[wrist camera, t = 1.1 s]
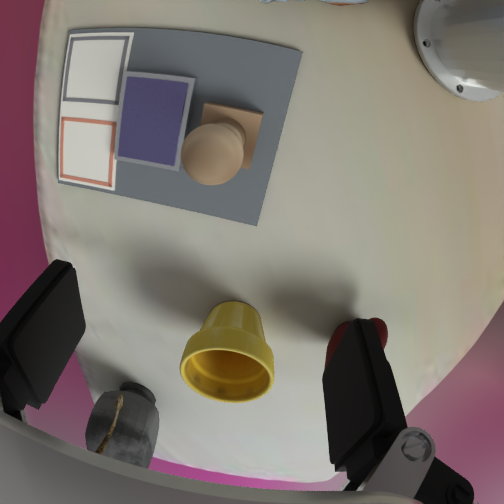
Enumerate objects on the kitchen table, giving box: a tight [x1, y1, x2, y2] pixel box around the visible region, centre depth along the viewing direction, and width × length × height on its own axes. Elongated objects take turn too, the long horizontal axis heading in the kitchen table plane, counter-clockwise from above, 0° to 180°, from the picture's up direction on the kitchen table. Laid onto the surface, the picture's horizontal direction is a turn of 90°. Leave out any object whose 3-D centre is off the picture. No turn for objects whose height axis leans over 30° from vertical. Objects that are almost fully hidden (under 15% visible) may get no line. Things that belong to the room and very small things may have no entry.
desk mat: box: [58, 28, 302, 226], centre depth 28 cm, size 18×24×1 cm
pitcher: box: [85, 382, 159, 469], centre depth 40 cm, size 11×19×30 cm, turn 169°
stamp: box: [181, 101, 264, 185], centre depth 23 cm, size 5×5×11 cm
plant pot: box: [180, 301, 274, 403], centre depth 37 cm, size 10×10×10 cm
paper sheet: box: [59, 32, 134, 191], centre depth 27 cm, size 17×8×1 cm, turn 167°
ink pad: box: [114, 71, 199, 171], centre depth 27 cm, size 9×7×2 cm
